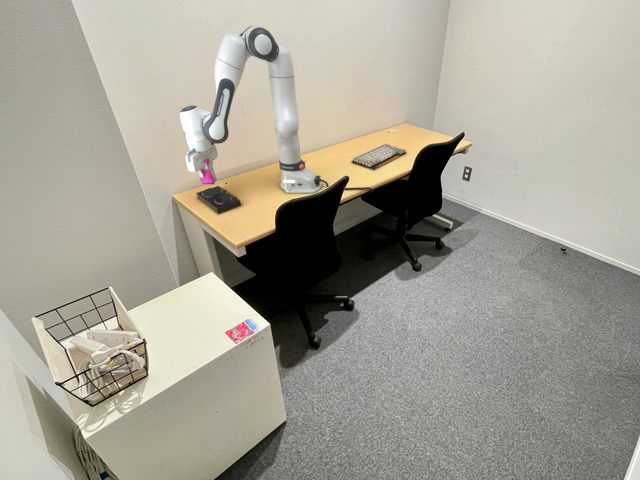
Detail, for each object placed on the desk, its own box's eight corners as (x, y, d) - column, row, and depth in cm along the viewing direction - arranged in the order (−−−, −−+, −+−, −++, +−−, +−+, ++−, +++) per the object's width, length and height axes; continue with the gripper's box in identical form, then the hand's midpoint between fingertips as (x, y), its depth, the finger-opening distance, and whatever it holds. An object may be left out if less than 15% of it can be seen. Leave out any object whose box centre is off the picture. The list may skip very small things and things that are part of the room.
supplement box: (205, 179, 164) (198, 156, 156) (217, 179, 164) (211, 156, 157) (201, 184, 159) (194, 161, 152) (213, 184, 159) (207, 161, 152)
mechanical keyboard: (374, 170, 197) (374, 164, 195) (349, 162, 207) (349, 157, 205) (407, 153, 220) (407, 148, 218) (384, 147, 230) (384, 142, 228)
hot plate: (243, 204, 162) (241, 198, 160) (218, 214, 155) (216, 207, 153) (221, 190, 174) (219, 183, 172) (197, 198, 167) (195, 191, 164)
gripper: (192, 153, 142) (201, 183, 150) (216, 138, 157) (223, 166, 166) (178, 152, 143) (188, 182, 151) (204, 137, 158) (211, 165, 167)
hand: (206, 173), depth 159 cm, fingers closed on supplement box, 6 cm apart
